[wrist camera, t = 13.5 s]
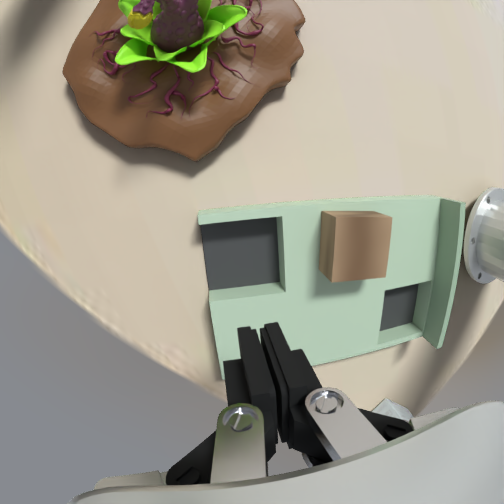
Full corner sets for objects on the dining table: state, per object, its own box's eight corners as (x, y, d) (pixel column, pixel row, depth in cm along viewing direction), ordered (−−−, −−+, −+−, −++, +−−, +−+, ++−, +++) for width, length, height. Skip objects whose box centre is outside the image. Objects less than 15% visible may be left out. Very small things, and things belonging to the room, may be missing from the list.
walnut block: (373, 211, 24) (392, 217, 21) (368, 265, 25) (385, 277, 22) (321, 210, 23) (335, 217, 20) (318, 269, 24) (331, 282, 22)
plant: (44, 101, 19) (-30, 80, 9) (158, -44, 16) (143, -109, 5) (215, 193, 24) (216, 214, 14) (326, 30, 21) (383, -25, 10)
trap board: (430, 195, 27) (465, 202, 21) (416, 324, 31) (441, 347, 26) (199, 210, 24) (195, 222, 19) (221, 364, 29) (224, 400, 24)
